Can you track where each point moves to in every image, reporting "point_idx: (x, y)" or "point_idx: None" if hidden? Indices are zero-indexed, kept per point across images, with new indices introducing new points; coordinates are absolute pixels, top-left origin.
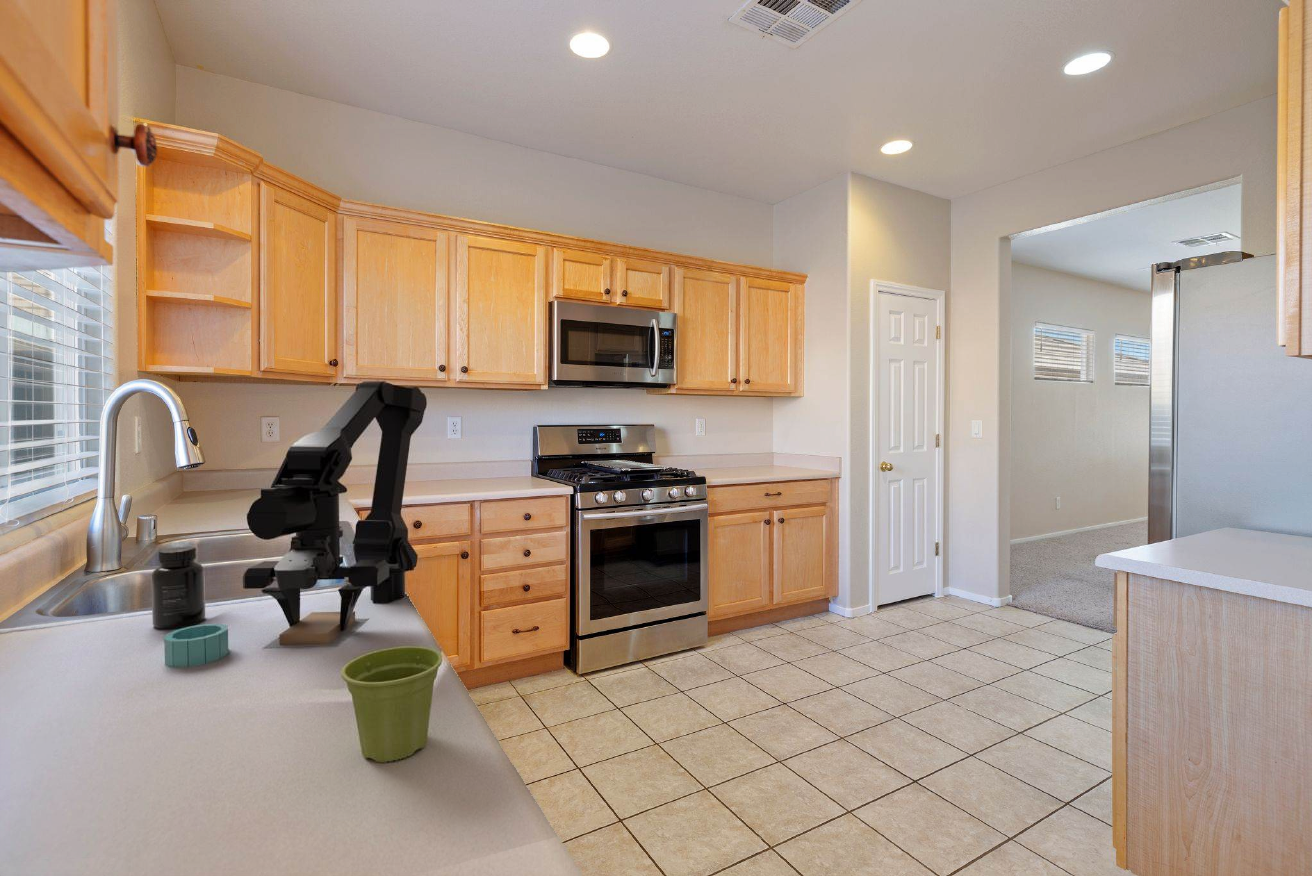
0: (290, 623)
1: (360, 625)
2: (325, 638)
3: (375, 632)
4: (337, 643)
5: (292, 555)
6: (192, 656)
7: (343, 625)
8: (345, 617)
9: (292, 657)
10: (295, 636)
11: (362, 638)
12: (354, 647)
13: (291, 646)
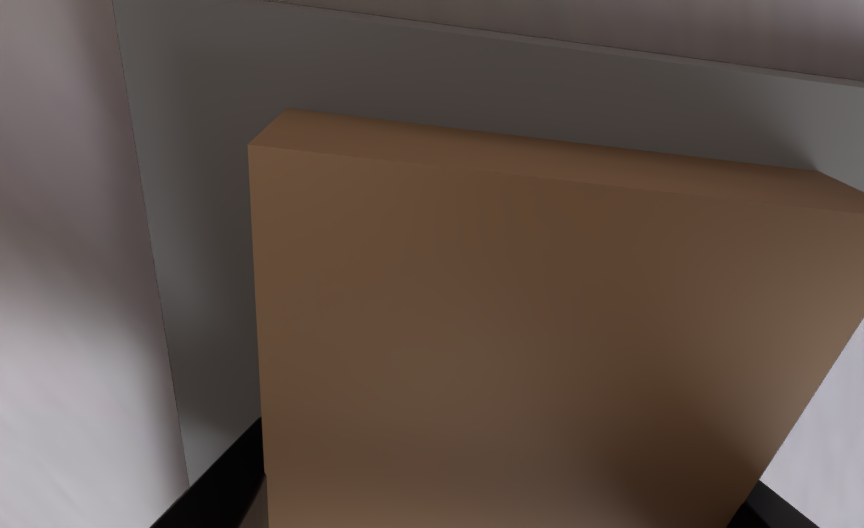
0: (787, 513)
1: None
2: (294, 123)
3: (117, 469)
4: (162, 92)
5: None
6: None
7: (234, 451)
8: (155, 526)
9: (630, 5)
10: (698, 187)
11: (151, 377)
12: (98, 182)
13: (691, 93)
